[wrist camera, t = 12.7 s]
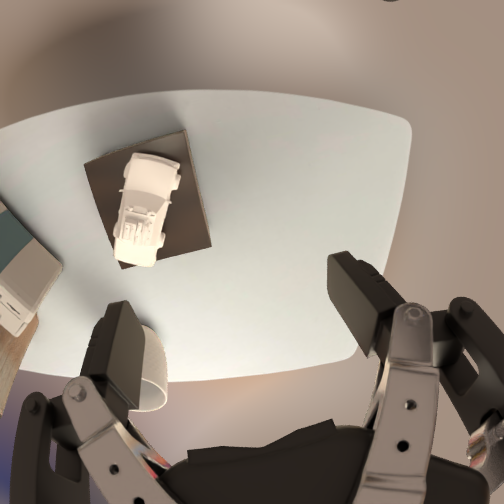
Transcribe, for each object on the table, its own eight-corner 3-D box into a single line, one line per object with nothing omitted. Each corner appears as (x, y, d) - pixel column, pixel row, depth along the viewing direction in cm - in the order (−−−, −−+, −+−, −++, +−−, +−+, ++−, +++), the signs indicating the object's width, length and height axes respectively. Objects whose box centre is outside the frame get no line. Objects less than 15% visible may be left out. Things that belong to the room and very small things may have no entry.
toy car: (185, 160, 27) (182, 172, 21) (160, 256, 32) (154, 289, 26) (133, 147, 25) (116, 156, 19) (114, 246, 30) (99, 276, 24)
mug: (174, 367, 50) (175, 422, 39) (123, 366, 48) (116, 419, 36) (165, 313, 43) (161, 375, 32) (104, 313, 41) (87, 371, 29)
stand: (100, 156, 30) (83, 164, 24) (186, 129, 31) (184, 131, 26) (130, 248, 37) (121, 269, 31) (209, 227, 38) (211, 247, 33)
